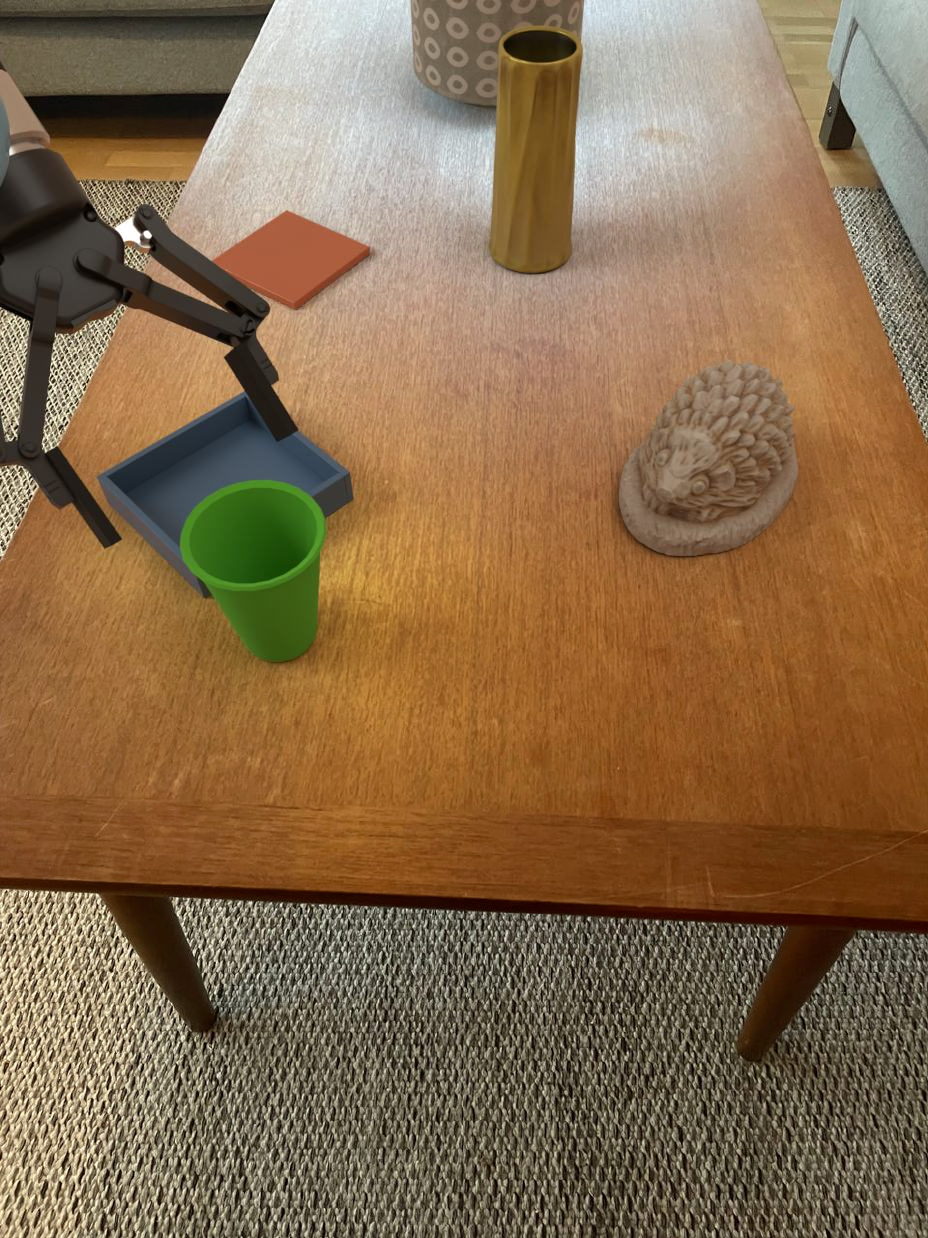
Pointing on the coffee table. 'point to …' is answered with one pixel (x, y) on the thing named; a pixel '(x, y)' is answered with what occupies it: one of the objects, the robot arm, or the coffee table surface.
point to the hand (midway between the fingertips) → (204, 488)
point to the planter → (476, 41)
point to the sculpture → (712, 464)
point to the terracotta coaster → (291, 259)
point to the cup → (260, 562)
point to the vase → (535, 148)
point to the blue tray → (215, 474)
